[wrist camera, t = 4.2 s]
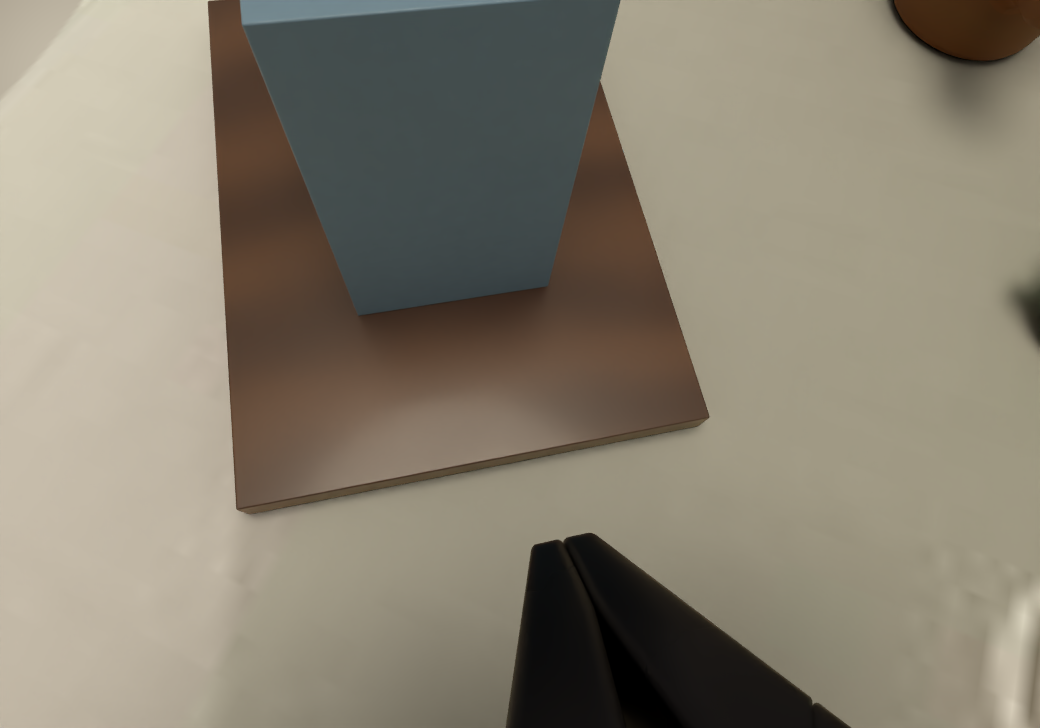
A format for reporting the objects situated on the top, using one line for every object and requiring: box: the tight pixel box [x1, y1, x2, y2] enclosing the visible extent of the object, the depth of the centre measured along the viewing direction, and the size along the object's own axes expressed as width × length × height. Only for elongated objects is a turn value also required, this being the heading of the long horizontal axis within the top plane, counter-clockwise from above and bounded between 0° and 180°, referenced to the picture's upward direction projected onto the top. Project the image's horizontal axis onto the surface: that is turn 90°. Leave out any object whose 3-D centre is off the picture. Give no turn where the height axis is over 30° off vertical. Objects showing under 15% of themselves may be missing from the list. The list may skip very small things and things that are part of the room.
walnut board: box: [208, 0, 709, 514], centre depth 25 cm, size 22×16×1 cm
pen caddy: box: [240, 0, 620, 316], centre depth 18 cm, size 9×7×13 cm
